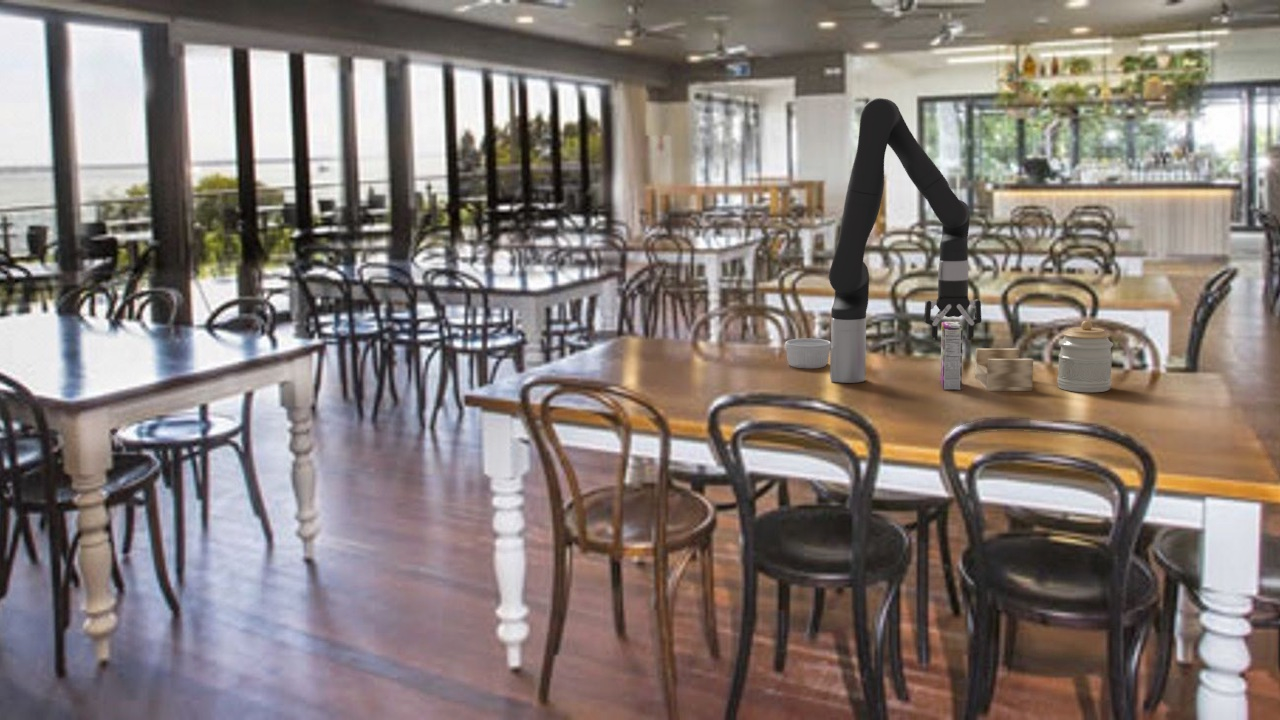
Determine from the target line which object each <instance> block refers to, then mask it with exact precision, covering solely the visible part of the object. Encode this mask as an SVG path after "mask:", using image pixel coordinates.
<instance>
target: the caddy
mask: <svg viewBox="0 0 1280 720" xmlns="http://www.w3.org/2000/svg"><path fill="white" fill-rule="evenodd" d="M974 363H975V366H974V367H975V369H974V372H975V373H974V379H976V380H977V381H978V382H979V383H980V384H981V385H982V386H983V387H984V388H985V389H986V391H988V392H990V391H991V392H997V391H998V392H1001V391H1002V392H1003V391H1004V392H1010V391H1011V392H1017V391H1018V392H1022V391H1023V392H1024V391H1025V392H1028V391H1030V392H1031V391H1033V381H1034V380H1033V377H1034V376H1033V375H1034V359H1033V358H1020V348H1017V347H1016V348H1014V347H1013V348H1012V347H1011V348H1008V347H1007V348H1006V347H1005V348H1001V347H1000V348H990V347H989V348H980V347H979V348H975V362H974Z"/></svg>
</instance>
